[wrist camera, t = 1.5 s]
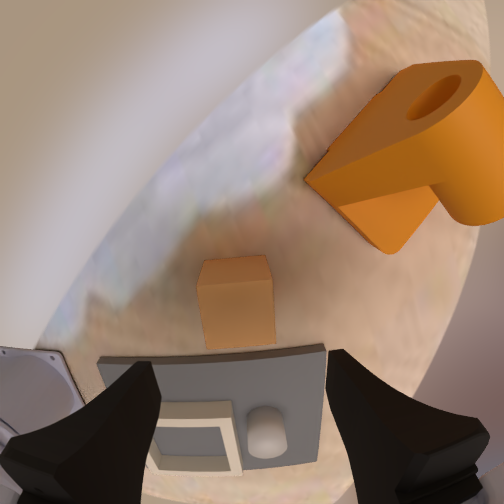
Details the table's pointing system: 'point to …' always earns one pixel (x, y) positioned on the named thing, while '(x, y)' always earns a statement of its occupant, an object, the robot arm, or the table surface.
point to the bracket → (419, 154)
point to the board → (233, 410)
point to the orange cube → (236, 302)
